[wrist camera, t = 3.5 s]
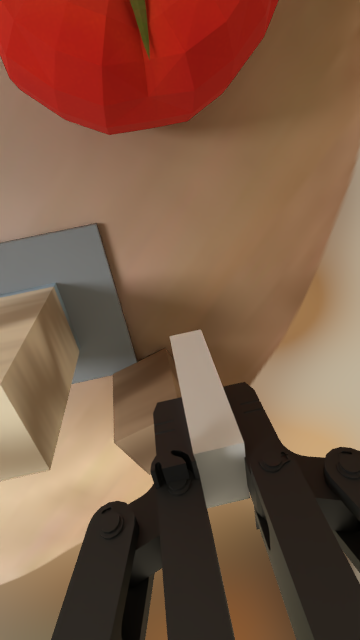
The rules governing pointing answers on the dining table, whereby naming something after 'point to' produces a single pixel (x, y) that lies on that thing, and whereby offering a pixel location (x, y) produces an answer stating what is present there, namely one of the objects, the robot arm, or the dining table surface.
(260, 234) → the dining table surface
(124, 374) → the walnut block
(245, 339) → the dining table surface
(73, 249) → the rubber mat
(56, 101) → the tomato
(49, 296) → the birch block
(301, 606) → the robot arm
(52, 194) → the dining table surface
